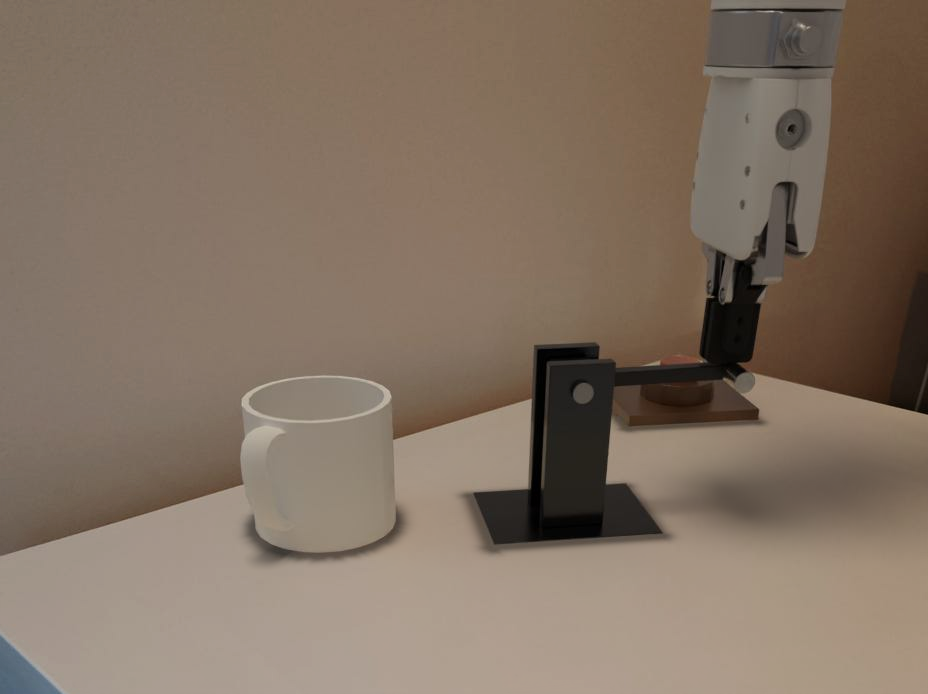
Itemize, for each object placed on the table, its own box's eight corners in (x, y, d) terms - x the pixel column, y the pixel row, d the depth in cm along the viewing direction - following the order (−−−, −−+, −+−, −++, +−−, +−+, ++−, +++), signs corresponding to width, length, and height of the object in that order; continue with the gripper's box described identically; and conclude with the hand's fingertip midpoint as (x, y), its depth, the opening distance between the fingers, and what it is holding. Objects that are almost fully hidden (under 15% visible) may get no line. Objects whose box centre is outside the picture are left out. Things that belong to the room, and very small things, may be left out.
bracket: (624, 498, 78) (640, 332, 71) (661, 549, 70) (683, 368, 64) (472, 507, 76) (474, 339, 70) (493, 560, 69) (497, 377, 62)
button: (690, 373, 94) (692, 354, 93) (704, 385, 91) (706, 365, 90) (653, 375, 93) (655, 356, 92) (665, 386, 90) (668, 367, 89)
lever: (719, 373, 72) (724, 340, 71) (753, 400, 67) (758, 364, 66) (541, 385, 71) (542, 351, 69) (561, 412, 66) (563, 376, 64)
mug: (310, 498, 78) (299, 368, 73) (421, 524, 74) (418, 388, 68) (204, 564, 69) (182, 419, 63) (324, 597, 65) (312, 446, 59)
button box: (715, 398, 99) (721, 357, 97) (756, 432, 90) (763, 389, 88) (597, 404, 97) (600, 363, 95) (627, 439, 89) (631, 395, 87)
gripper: (896, 51, 53) (826, 391, 63) (778, 46, 66) (735, 330, 75) (761, 51, 52) (712, 396, 62) (667, 46, 65) (639, 333, 74)
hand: (725, 359), depth 68 cm, fingers closed
